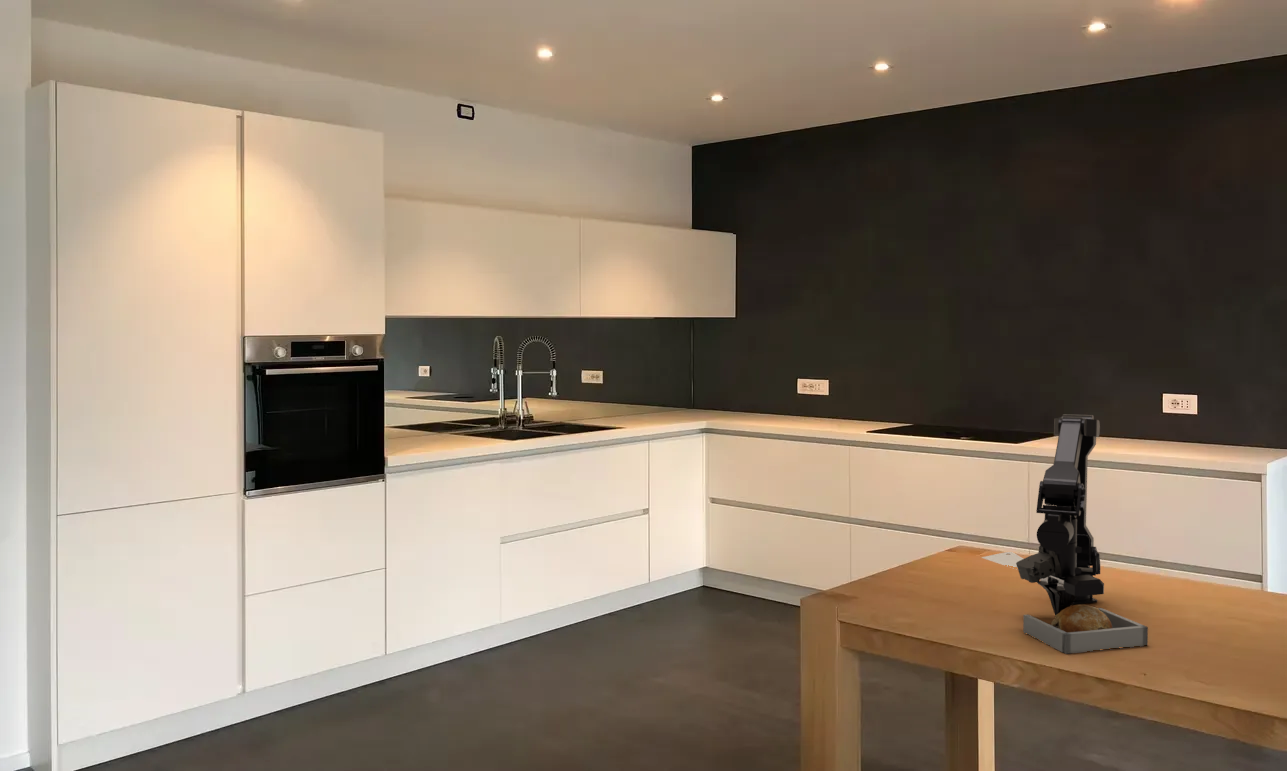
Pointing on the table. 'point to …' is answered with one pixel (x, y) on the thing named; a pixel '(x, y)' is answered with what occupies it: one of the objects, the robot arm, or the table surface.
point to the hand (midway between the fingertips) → (1059, 619)
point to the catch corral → (1089, 634)
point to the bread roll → (1081, 619)
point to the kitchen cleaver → (1005, 558)
